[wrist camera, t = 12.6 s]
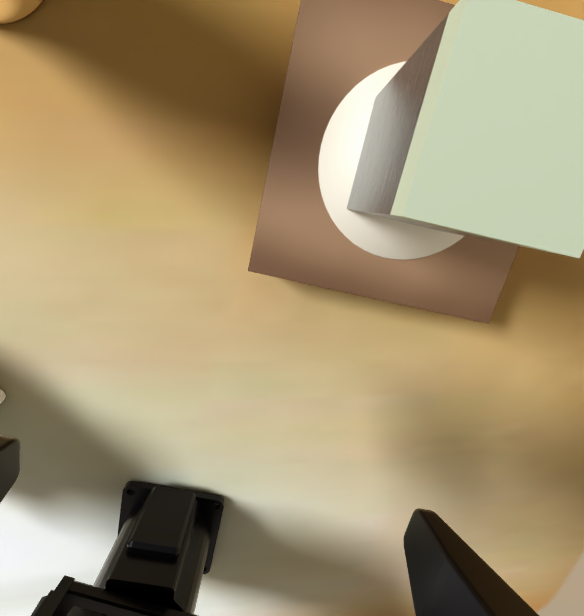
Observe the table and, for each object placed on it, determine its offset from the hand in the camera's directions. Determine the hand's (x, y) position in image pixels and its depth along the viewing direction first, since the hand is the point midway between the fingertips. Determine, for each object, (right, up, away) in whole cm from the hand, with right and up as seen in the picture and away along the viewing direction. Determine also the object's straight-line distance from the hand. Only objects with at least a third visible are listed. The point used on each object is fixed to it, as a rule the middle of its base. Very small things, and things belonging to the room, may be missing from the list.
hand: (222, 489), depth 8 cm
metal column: (+7, +10, +7) cm, 14 cm away
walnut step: (+7, +11, +10) cm, 17 cm away
